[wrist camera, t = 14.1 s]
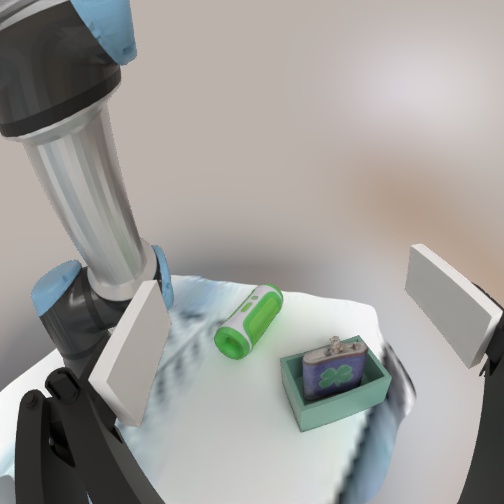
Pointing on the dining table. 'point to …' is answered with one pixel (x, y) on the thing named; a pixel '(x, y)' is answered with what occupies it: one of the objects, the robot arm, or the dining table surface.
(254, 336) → the speaker
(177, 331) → the dining table surface
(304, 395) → the flask
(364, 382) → the open box
